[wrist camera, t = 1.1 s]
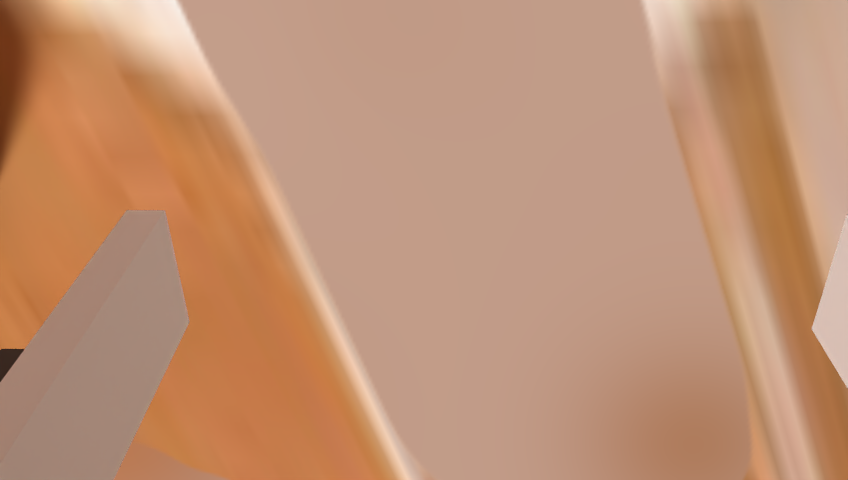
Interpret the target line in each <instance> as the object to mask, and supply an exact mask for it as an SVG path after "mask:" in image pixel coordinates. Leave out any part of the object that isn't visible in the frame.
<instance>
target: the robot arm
mask: <svg viewBox="0 0 848 480" xmlns="http://www.w3.org/2000/svg"><path fill="white" fill-rule="evenodd" d="M188 324H189V318H188V313H187V308H186V304H185V299H184V295H183V290H182V286H181V281H180V276H179V272H178V267H177V263H176V258H175V254H174V249H173V245H172V240H171V235H170V231H169V226H168V222H167V217H166V213H165V210H127V211H126V212H125V213H124V215H123V216H122V217H121V219H120V220H119V222H118V223H117V224H116V226H115V227H114V228H113V230H112V231H111V232H110V234H109V235H108V236H107V238H106V239H105V241H104V242H103V243H102V245H101V246H100V247H99V249H98V250H97V251H96V253H95V254H94V256H93V257H92V258H91V260H90V261H89V262H88V264H87V265H86V266H85V268H84V269H83V271H82V272H81V273H80V275H79V276H78V277H77V279H76V280H75V281H74V283H73V284H72V285H71V287H70V288H69V290H68V291H67V292H66V294H65V295H64V296H63V298H62V299H61V300H60V302H59V303H58V305H57V306H56V307H55V309H54V310H53V311H52V313H51V314H50V315H49V317H48V318H47V319H46V321H45V322H44V324H43V325H42V326H41V328H40V329H39V330H38V332H37V333H36V334H35V336H34V337H33V339H32V340H31V341H30V343H29V344H28V345H27V347H26V348H25V349H1V350H0V480H113V479H114V478H115V476H116V474H117V472H118V469H119V467H120V465H121V463H122V461H123V459H124V457H125V455H126V453H127V451H128V449H129V447H130V445H131V442H132V440H133V438H134V436H135V434H136V432H137V430H138V428H139V426H140V424H141V422H142V420H143V417H144V415H145V413H146V411H147V409H148V407H149V405H150V403H151V401H152V399H153V397H154V395H155V393H156V390H157V388H158V386H159V384H160V382H161V380H162V378H163V376H164V374H165V372H166V370H167V368H168V365H169V363H170V361H171V359H172V357H173V355H174V353H175V351H176V349H177V347H178V345H179V343H180V340H181V338H182V336H183V334H184V332H185V330H186V328H187V326H188ZM812 330H813V332H814V334H815V335H816V337H817V339H818V340H819V342H820V344H821V345H822V347H823V349H824V350H825V352H826V353H827V355H828V357H829V358H830V360H831V362H832V363H833V365H834V367H835V368H836V370H837V372H838V373H839V375H840V377H841V378H842V380H843V381H844V383H845V385H846V386H847V388H848V214H847V215H846V219H845V222H844V225H843V228H842V232H841V235H840V238H839V242H838V245H837V248H836V251H835V255H834V258H833V261H832V264H831V268H830V271H829V274H828V278H827V281H826V284H825V287H824V291H823V294H822V297H821V300H820V304H819V307H818V310H817V314H816V317H815V320H814V323H813V327H812Z"/></svg>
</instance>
